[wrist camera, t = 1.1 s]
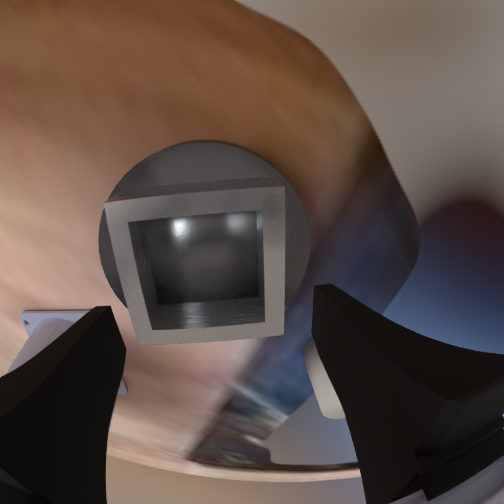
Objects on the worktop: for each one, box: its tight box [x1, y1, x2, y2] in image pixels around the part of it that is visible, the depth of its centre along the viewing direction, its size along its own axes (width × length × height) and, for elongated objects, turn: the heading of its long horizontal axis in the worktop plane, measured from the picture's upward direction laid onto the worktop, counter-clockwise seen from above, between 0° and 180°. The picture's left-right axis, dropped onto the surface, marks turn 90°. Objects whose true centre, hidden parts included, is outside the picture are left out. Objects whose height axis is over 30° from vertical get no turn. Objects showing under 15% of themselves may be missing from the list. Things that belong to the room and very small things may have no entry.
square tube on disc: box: [99, 140, 311, 345], centre depth 17 cm, size 12×12×6 cm
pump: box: [302, 337, 346, 419], centre depth 21 cm, size 6×4×6 cm
